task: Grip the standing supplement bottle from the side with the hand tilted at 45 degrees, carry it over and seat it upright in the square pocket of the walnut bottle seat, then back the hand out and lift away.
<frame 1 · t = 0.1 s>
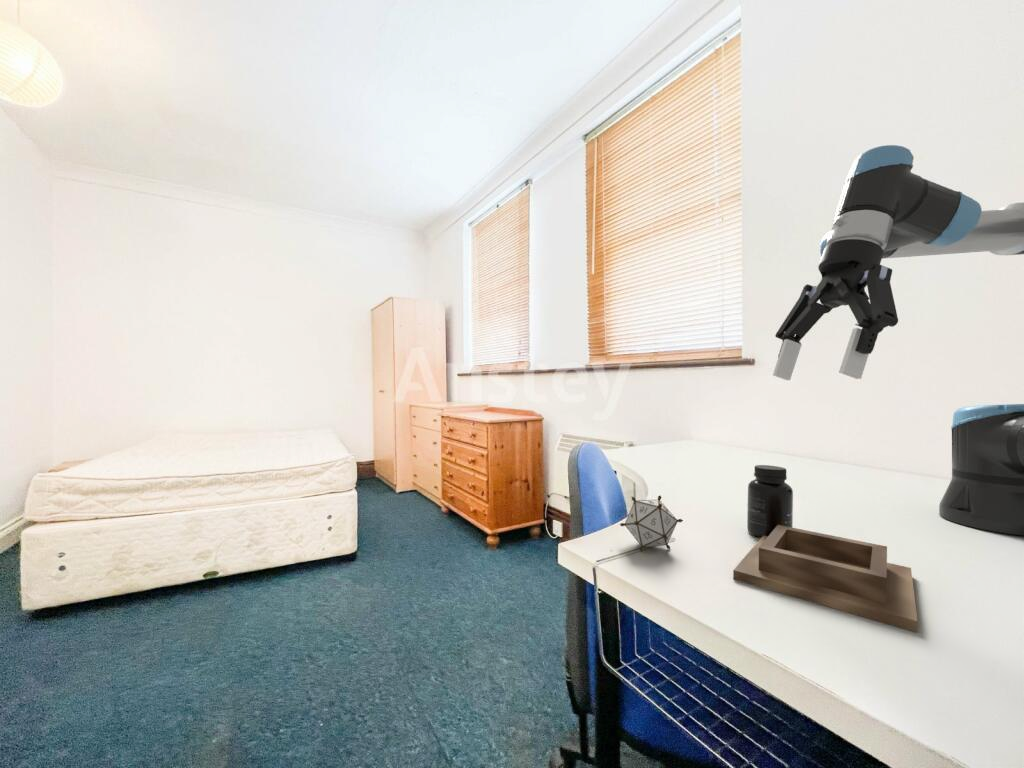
hand: (811, 377, 65), 28 cm above the table, tool tilted 20°, fingers open, 13 cm apart
bottle seat: (823, 577, 58), on the table
game die: (650, 548, 68), on the table
supplement bottle: (769, 536, 74), on the table
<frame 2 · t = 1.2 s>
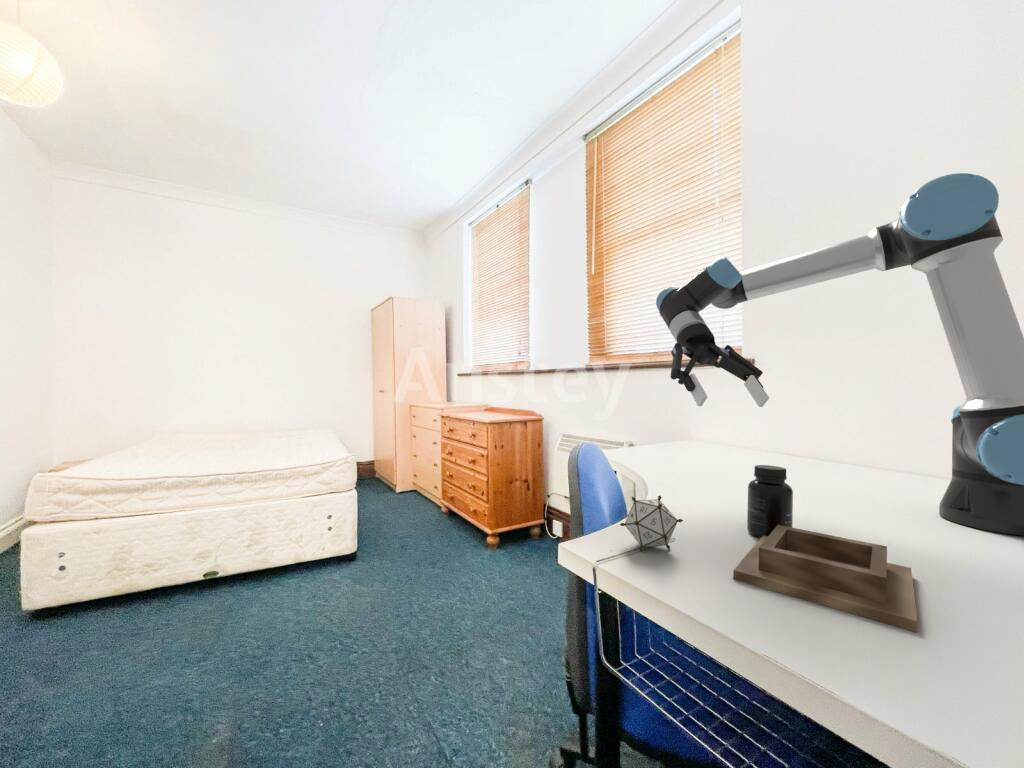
hand: (734, 402, 84), 23 cm above the table, tool tilted 45°, fingers open, 13 cm apart
nothing on the table moved.
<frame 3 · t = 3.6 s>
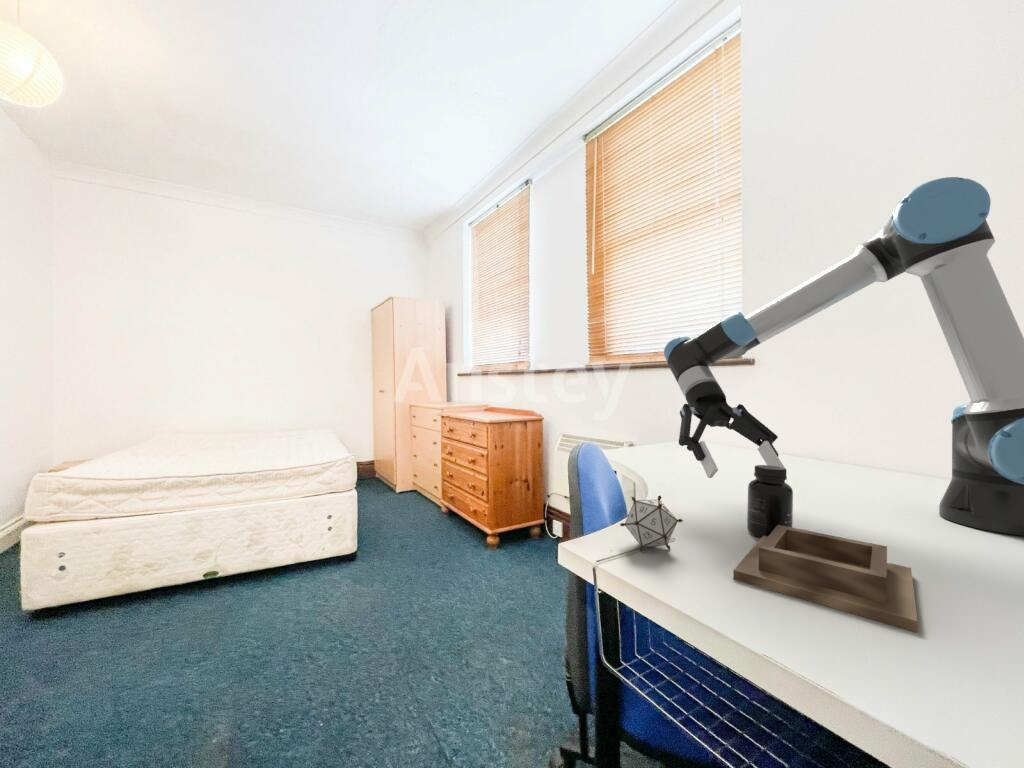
hand: (747, 473, 79), 10 cm above the table, tool tilted 45°, fingers open, 13 cm apart
nothing on the table moved.
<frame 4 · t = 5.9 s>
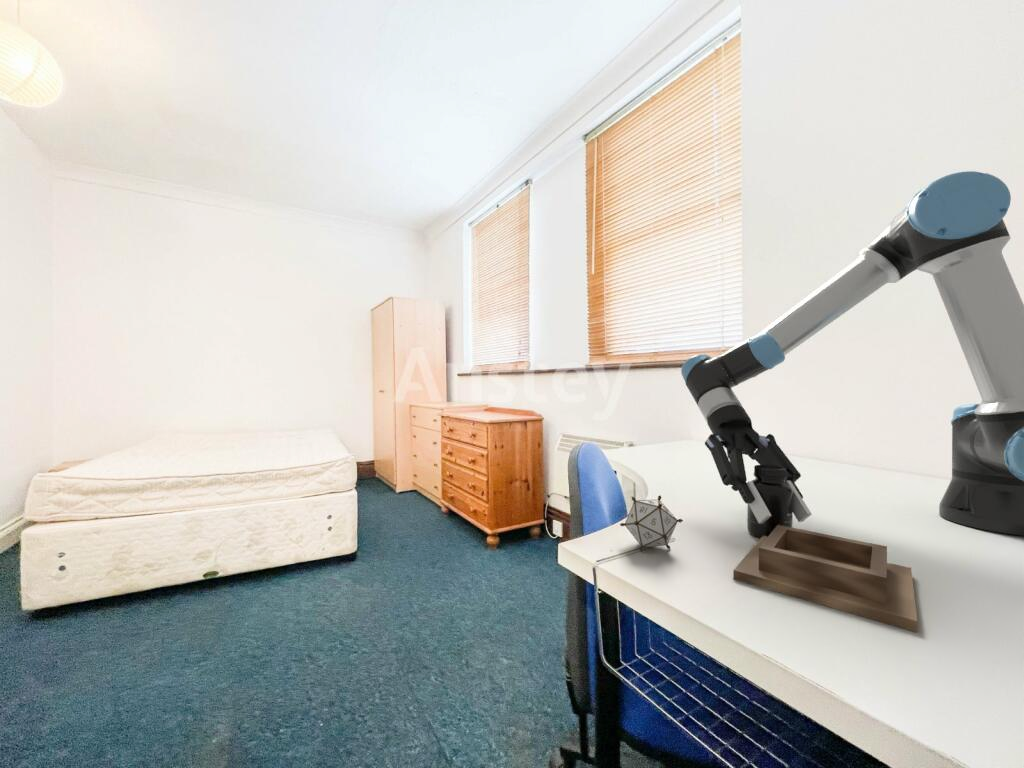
hand: (785, 518, 71), 4 cm above the table, tool tilted 45°, fingers closed on supplement bottle, 7 cm apart
supplement bottle: (769, 536, 74), on the table, touching gripper
everything else where it was.
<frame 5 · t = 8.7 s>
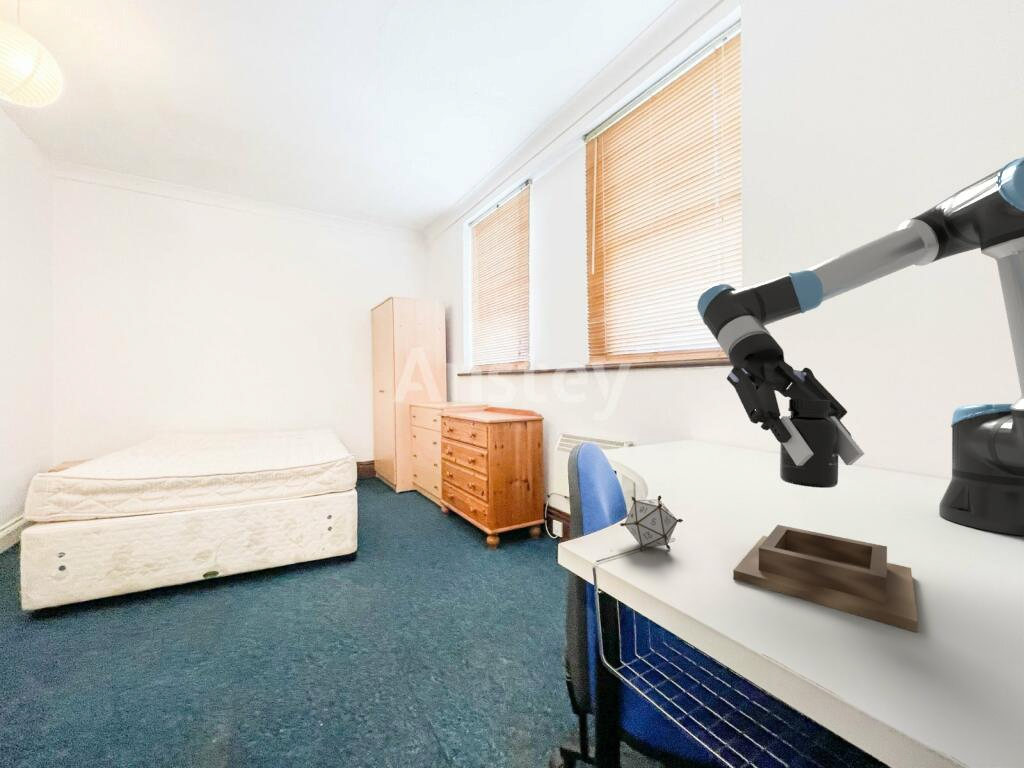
hand: (830, 459, 57), 16 cm above the table, tool tilted 45°, fingers closed on supplement bottle, 7 cm apart
supplement bottle: (808, 484, 60), point 12 cm above the table, touching gripper
everything else where it was.
when the fingers open (6 cm above the table, at t = 11.6 s): supplement bottle drops 1 cm, resting on bottle seat.
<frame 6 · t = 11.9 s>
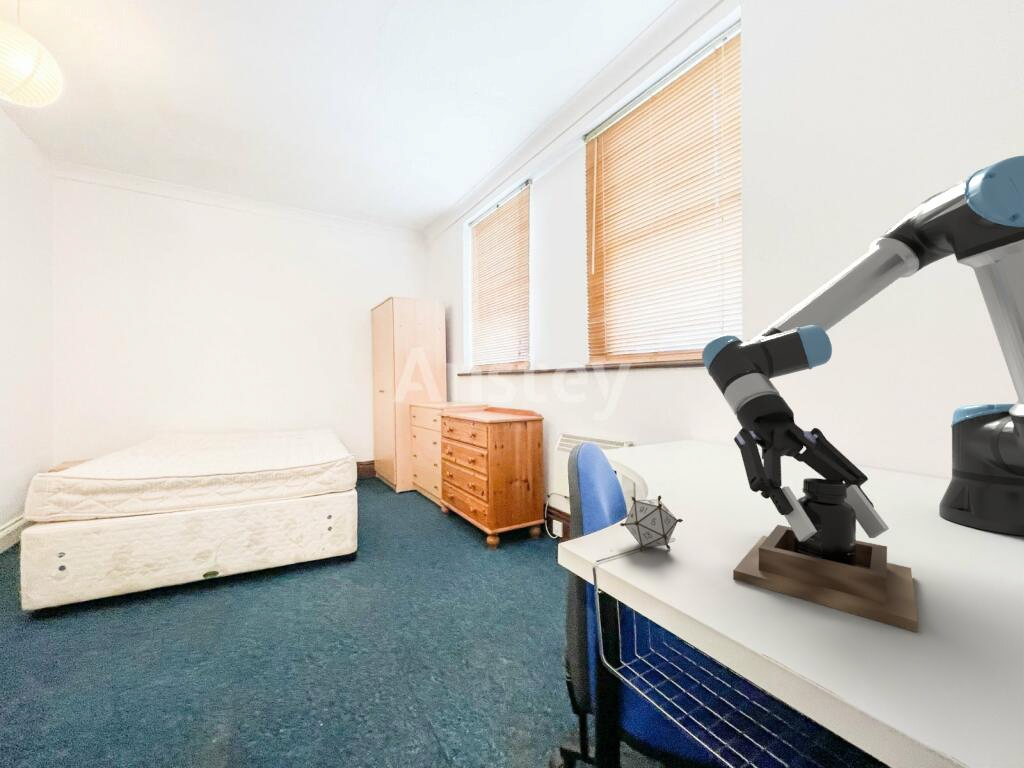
hand: (844, 535, 55), 7 cm above the table, tool tilted 45°, fingers open, 10 cm apart
supplement bottle: (823, 570, 58), point 1 cm above the table, touching bottle seat
everything else where it was.
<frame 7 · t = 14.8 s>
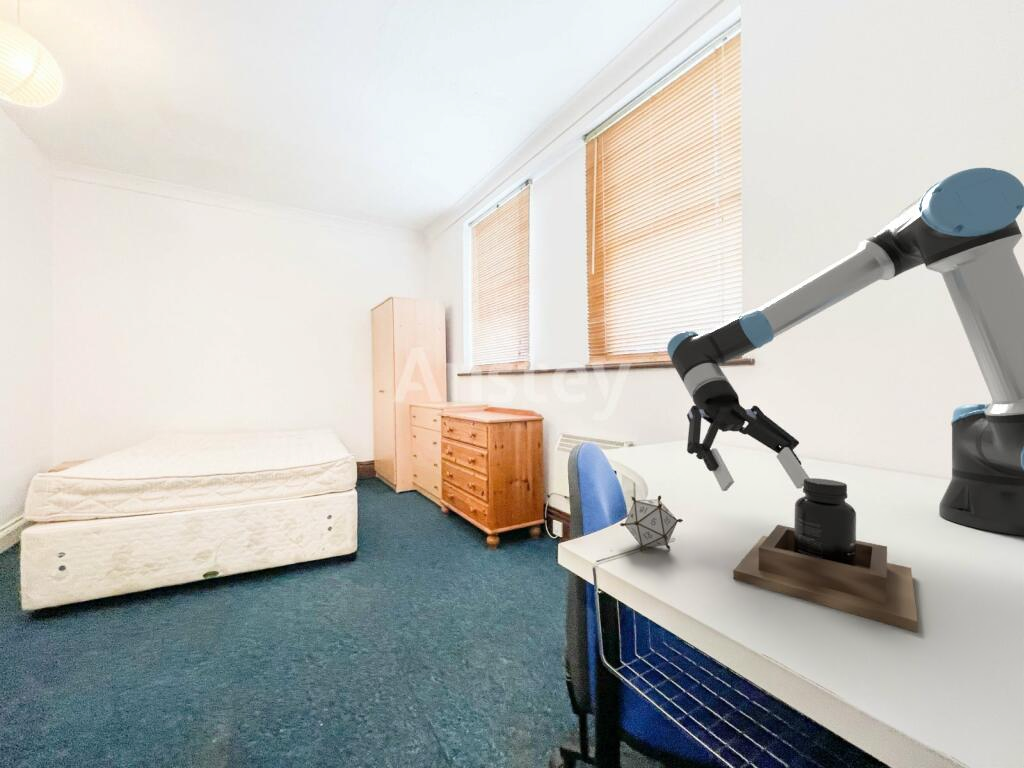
hand: (766, 485, 68), 10 cm above the table, tool tilted 45°, fingers open, 13 cm apart
nothing on the table moved.
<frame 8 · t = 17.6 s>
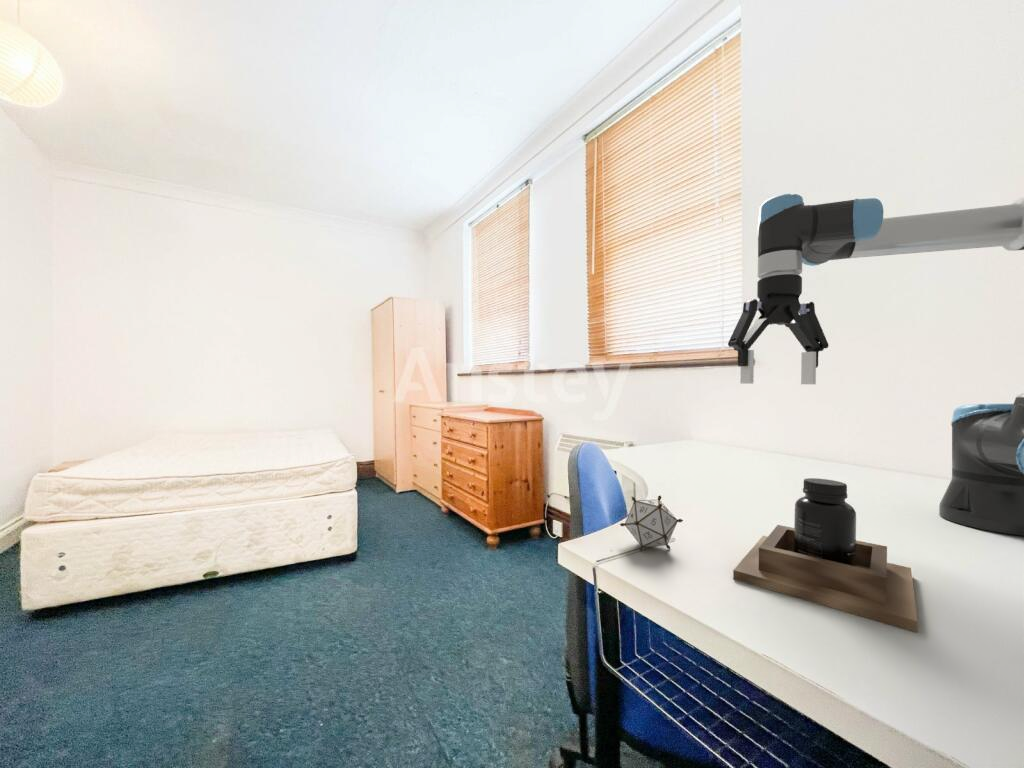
hand: (777, 384, 84), 27 cm above the table, tool pointing down, fingers open, 13 cm apart
nothing on the table moved.
at the end: supplement bottle 0.1 cm off-centre on the bottle seat, point 1.0 cm above the bottle seat's base; supplement bottle tilted 0°; the gripper is holding nothing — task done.
